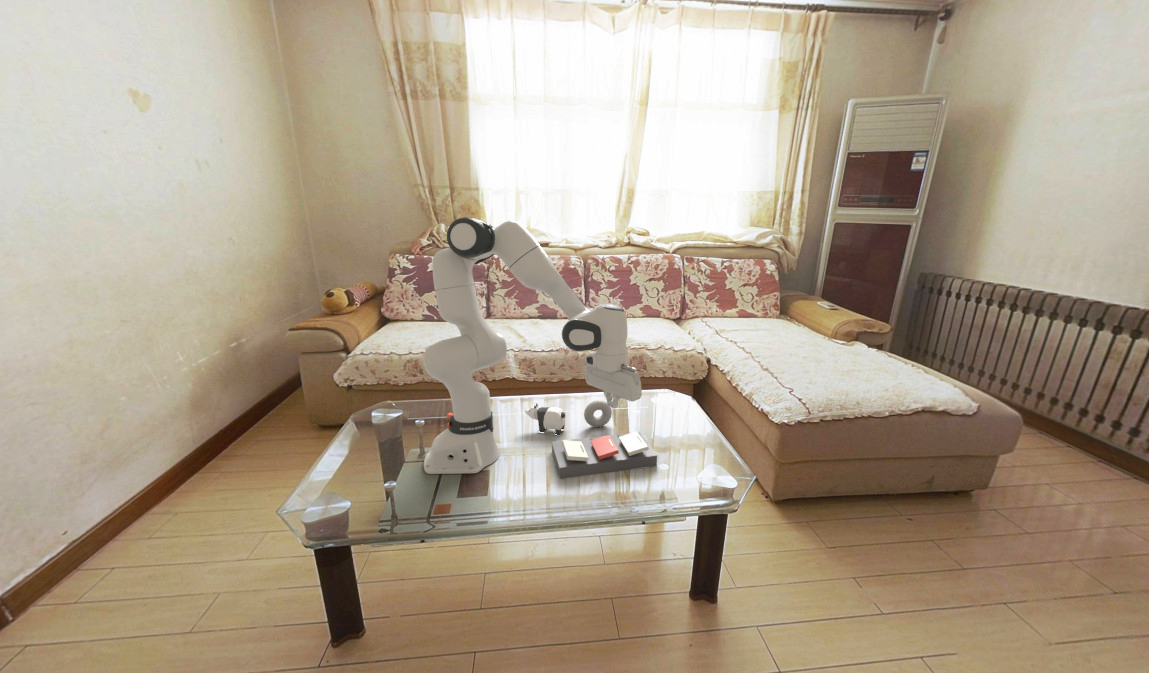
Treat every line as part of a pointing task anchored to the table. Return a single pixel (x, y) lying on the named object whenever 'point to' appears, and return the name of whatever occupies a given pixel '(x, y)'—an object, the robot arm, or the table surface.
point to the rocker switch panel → (603, 465)
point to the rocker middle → (604, 447)
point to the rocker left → (574, 450)
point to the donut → (603, 418)
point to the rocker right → (633, 443)
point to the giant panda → (548, 417)
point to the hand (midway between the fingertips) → (612, 406)
